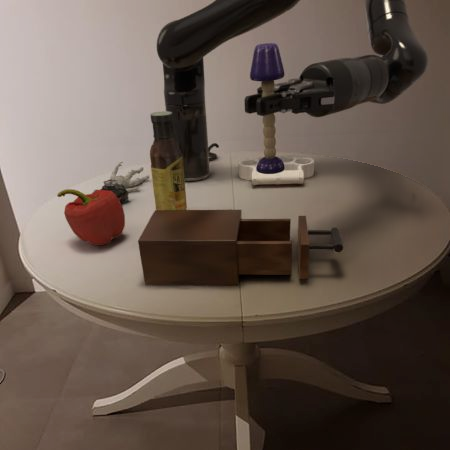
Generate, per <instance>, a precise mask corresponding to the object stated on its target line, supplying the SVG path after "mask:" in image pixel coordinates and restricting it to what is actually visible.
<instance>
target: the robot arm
mask: <svg viewBox="0 0 450 450" xmlns="http://www.w3.org/2000/svg"><path fill="white" fill-rule="evenodd" d="M300 1H301V0H214V1H213V2H211V3H209V4H208V5H206V6H205V7H203V8H201V9H198V10H196V11H195V12H192V13H190V14H188V15H186V16H184V17H182V18H179V19H175V20H172V21H170V22H168V23H166V24H165V25H164V26H163V27H162V28H161V29H160V31H159V33H158V36H157V38H156V53H157V57H158V58H159V60H160V62H161V63H162V72H163V97H164V107H165V111H168V112H172V114H173V122H172V123H173V133H174V138H175V140H176V142H177V145H178V147H179V149H180V151H181V154H182V157H183V168H184V179H185V182H197V181H202V180H204V179H207V178H208V177H210V175H211V169H210V162H212V161H214V160H215V159H217V157H218V155H217V153H215V152H211V150H212V149H213V148H217V149H218V148H220V145H219V144H218V143H217V142H214V143H211V144H210V145H209V138H208V136H209V135H208V123H207V122H208V121H207V109H206V108H207V107H206V92H205V91H206V85H205V82H206V79H205V65H204V64H205V63H204V62H205V61H204V57H205V56H207V55H208V54H210V53H211V52H213V51H214V50H216V49H217V48H218V47H219V46H221V45H223V44H225V43H226V42H228V41H230V40H232V39H234V38H237V37H239V36H242V35H244V34H246V33H249V32H250V31H253V30H255V29H257V28H259V27H261V26H263V25H265V24H267V23H269V22H271V21H273V20H274V19H277V18H278V17H280V16H282V15H284V14H285V13H287V12H289V11H290V10H292V9H293V8H295V6H297V5H298V3H299V2H300ZM364 16H365V23H366V30H367V37H368V42H369V46H370V48H371V50H372V52H374V53H375V54H376V55H375V54H365V55H360V56H355V57H340V58H335V59H330V60H324V61H318V62H315V63H311V64H309V65H307V67H305V68H304V69H303V70H302V72H301V73H300V75H299V77H297V78H290V79H288V80H287V81H284V82H279V83H275V86H274V90H273V91H274V95H270V96H265V97H262V93H263V90H262V87H261V86H259V87H258V88H257V89H256V92H257V93H255V94H250V95H246V96H245V97H244V112H245V114H248V115H249V114H250V115H251V114H255V113H256V115H257V116H261V117H263V116H265V115H268V114H272V113H274V114H276V113H281V114H286V113H288V112H290V113H292V114H294V115H298V114H304V113H305V114H307V115H309V116H310V117H313V118H323V117H327V116H330V115H334V114H337V113H340V112H343V111H346V110H349V109H352V108H354V107H356V106H359V105H362V104H366V103H372V104H379V105H386V104H388V103H390V102H393V101H395V100H396V99H398V98H399V97H400V96H402V95H403V94H404V92H406V91H407V90H408V89H409V88H410V87H412V85H414V84H415V83H416V82H417V81H418V80H420V78H422V77H423V76H424V75H425V73H426V71H427V69H428V66H429V54H428V51H427V49H426V48H425V47H424V45H423V44H422V43H421V41H420V40H419V38H418V37H417V35H416V33H415V32H414V29H413V28H412V26H411V23H410V17H409V12H408V6H407V3H406V0H364Z"/></svg>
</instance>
